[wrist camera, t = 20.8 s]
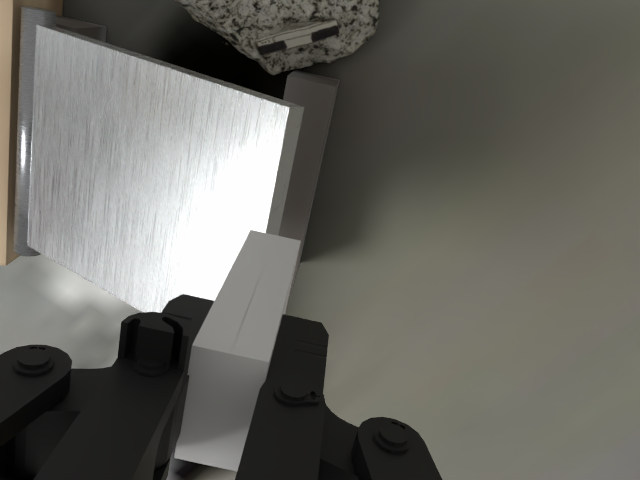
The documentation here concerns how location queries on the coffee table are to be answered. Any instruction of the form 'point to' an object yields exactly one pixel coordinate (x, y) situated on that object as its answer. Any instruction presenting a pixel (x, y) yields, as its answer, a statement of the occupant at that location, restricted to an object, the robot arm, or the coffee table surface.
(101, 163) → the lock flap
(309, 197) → the block
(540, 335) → the coffee table surface
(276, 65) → the rock sample
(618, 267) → the coffee table surface
